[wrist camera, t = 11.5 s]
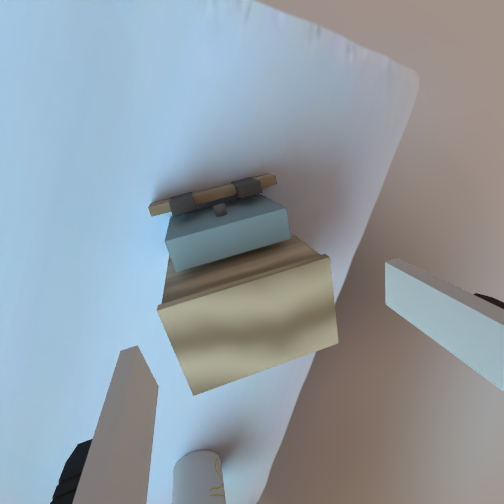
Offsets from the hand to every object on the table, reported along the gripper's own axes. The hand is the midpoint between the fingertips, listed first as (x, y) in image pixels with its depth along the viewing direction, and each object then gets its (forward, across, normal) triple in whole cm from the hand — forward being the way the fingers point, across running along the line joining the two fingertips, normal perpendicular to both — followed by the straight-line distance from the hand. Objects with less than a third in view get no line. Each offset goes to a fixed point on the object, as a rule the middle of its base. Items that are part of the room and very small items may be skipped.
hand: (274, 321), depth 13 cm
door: (+20, 0, +1) cm, 20 cm away
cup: (+20, -15, -41) cm, 48 cm away
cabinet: (+20, 0, -3) cm, 20 cm away
